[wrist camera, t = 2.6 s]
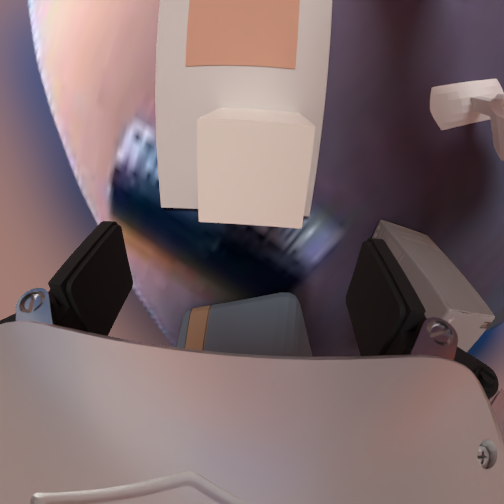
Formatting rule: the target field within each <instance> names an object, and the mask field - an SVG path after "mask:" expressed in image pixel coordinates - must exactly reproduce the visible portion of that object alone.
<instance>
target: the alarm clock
mask: <svg viewBox="0 0 504 504" xmlns="http://www.w3.org/2000/svg"><path fill="white" fill-rule="evenodd" d="M176 347H178V348H186V349H194V350H203V351H213V352H224V353H236V354H250V355H268V356H295V357H313V356H312V352H311V348H310V343H309V339H308V335H307V331H306V327H305V322H304V318H303V314H302V310H301V306H300V303H299V300H298V299H297V297H296V296H295V295H293V294H291V293H282V292H281V293H276V294H271V295H266V296H260V297H255V298H250V299H244V300H239V301H233V302H227V303H222V304H216V305H210V306H204V307H197V308H193V309H190V310H188V311H186V313H185V315H184V317H183V319H182V322H181V326H180V331H179V335H178V340H177V344H176Z"/></svg>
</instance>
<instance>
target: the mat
mask: <svg viewBox="0 0 504 504" xmlns="http://www.w3.org/2000/svg"><path fill="white" fill-rule="evenodd" d="M331 17H332V0H160V6H159V17H158V30H157V48H156V84H155V103H156V141H157V160H158V175H159V188H160V199H161V208H188V209H198V180H197V119H198V118H200V117H202V116H204V115H206V114H208V113H210V112H212V111H214V110H216V109H218V108H237V109H258V110H272V111H284V112H294V113H300V114H301V115H302V116H303V117H305V118H306V119H307V120H308V121H310V122H311V123H312V124H313V125H315V126H316V127H315V136H314V144H313V152H312V160H311V168H310V175H309V182H308V189H307V196H306V203H305V210H304V216H309V215H310V209H311V203H312V197H313V190H314V183H315V177H316V170H317V163H318V155H319V148H320V140H321V132H322V123H323V115H324V105H325V96H326V86H327V75H328V63H329V50H330V35H331Z"/></svg>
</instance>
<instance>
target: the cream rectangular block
mask: <svg viewBox="0 0 504 504" xmlns="http://www.w3.org/2000/svg"><path fill="white" fill-rule="evenodd" d="M315 127H316V126H315V125H313V124H312V123H311V122H310V121H308V120H307V119H306V118H305V117H303V116H302V115H301V114H300V113H294V112H284V111H272V110H258V109H237V108H218V109H216V110H214V111H212V112H210V113H208V114H206V115H204V116H202V117H200V118H198V119H197V180H198V213H199V222H210V223H227V224H243V225H258V226H272V227H285V228H298V229H302V223H303V216H304V210H305V203H306V196H307V189H308V182H309V175H310V168H311V160H312V152H313V144H314V136H315Z"/></svg>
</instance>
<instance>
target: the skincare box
mask: <svg viewBox="0 0 504 504" xmlns="http://www.w3.org/2000/svg"><path fill="white" fill-rule="evenodd" d="M372 238H377V239H383V240H384V241H385V242H386V244H387V245H388V247H389V249H390V250H391V252H392V253H393V255H394V256H395V258H396V260H397V261H398V263H399V265H400V266H401V268H402V269H403V271H404V273H405V274H406V276H407V278H408V280H409V281H410V283H411V285H412V286H413V288H414V290H415V292H416V294H417V295H418V297H419V299H420V301H421V303H422V304H423V306H424V308H425V310H426V312H425V313H424V315H425V316H426V318H427V319H428V318H431V317H437V318H441V319H443V320H445V321H447V322H448V323H450V324H451V325H452V326H453V327H454V329H455V331H456V332H457V336H458V344H457V347H459V348H460V349H462V350H464V351H465V352H467V351H468V350H469V349H470V348H471V346H472V345H473V344H474V343H475V342H476V341H477V339H478V338H479V337H480V336H481V335H482V334H483V332H484V331H485V330H486V329H487V327H488V326H489V325H490V323H491V322H492V321H493V320H494V318H495V316H494V314H493V313H492V311H491V310H490V309H489V307H488V306H487V305H486V303H485V302H484V301H483V299H482V298H481V297H480V296H479V294H478V293H477V292H476V290H475V289H474V288H473V287H472V285H471V284H470V283H469V282H468V281H467V280H466V278H465V277H464V276H463V275H462V273H461V272H460V271H459V270H458V269H457V268H456V266H455V265H454V264H453V263H452V262H451V261H450V260H449V258H448V257H447V256H446V255H445V254H444V253H443V252H442V251H441V250H440V249H439V247H438V246H437V245H436V244H435V243H434V242H433V241H432V240H431V239H430V238H429V237H428V235H425V234H422V233H420V232H417V231H414V230H411V229H408V228H405V227H403V226H400V225H397V224H394V223H390V222H387V221H384V220H380V222H379V224H378V226H377V228H376V230H375V232H374V234H373V236H372Z"/></svg>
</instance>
